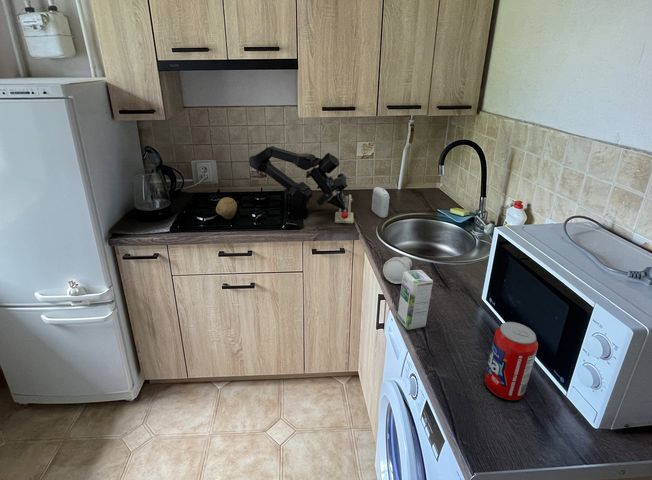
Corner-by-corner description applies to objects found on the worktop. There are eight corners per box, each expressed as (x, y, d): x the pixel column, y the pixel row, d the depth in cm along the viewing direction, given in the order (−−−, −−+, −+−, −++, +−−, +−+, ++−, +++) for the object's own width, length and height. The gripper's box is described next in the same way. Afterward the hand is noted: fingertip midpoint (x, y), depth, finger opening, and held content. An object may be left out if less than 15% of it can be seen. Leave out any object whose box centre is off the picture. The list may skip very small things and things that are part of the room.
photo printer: (388, 217, 171) (391, 191, 167) (380, 218, 170) (382, 192, 165) (378, 209, 180) (380, 184, 176) (370, 210, 179) (372, 185, 175)
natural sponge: (215, 223, 163) (213, 201, 159) (219, 215, 171) (217, 194, 167) (236, 223, 163) (235, 201, 159) (239, 215, 171) (238, 194, 168)
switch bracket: (353, 223, 164) (354, 200, 160) (334, 222, 165) (335, 199, 161) (353, 215, 173) (354, 192, 169) (335, 214, 174) (336, 191, 170)
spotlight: (378, 276, 121) (387, 254, 119) (390, 268, 131) (398, 247, 129) (402, 289, 118) (411, 266, 115) (412, 279, 127) (421, 258, 125)
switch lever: (348, 220, 159) (348, 215, 157) (340, 219, 160) (341, 215, 158) (348, 200, 168) (348, 195, 165) (341, 199, 168) (342, 195, 166)
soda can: (525, 408, 77) (543, 349, 72) (483, 396, 80) (497, 338, 75) (521, 380, 84) (537, 325, 79) (483, 370, 87) (495, 315, 82)
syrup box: (396, 317, 104) (401, 271, 99) (415, 314, 106) (421, 268, 101) (406, 330, 99) (413, 283, 94) (426, 326, 101) (434, 279, 96)
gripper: (324, 174, 147) (349, 206, 146) (344, 163, 162) (367, 192, 161) (306, 189, 154) (330, 220, 153) (327, 178, 169) (349, 206, 168)
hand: (345, 209), depth 158 cm, fingers closed
